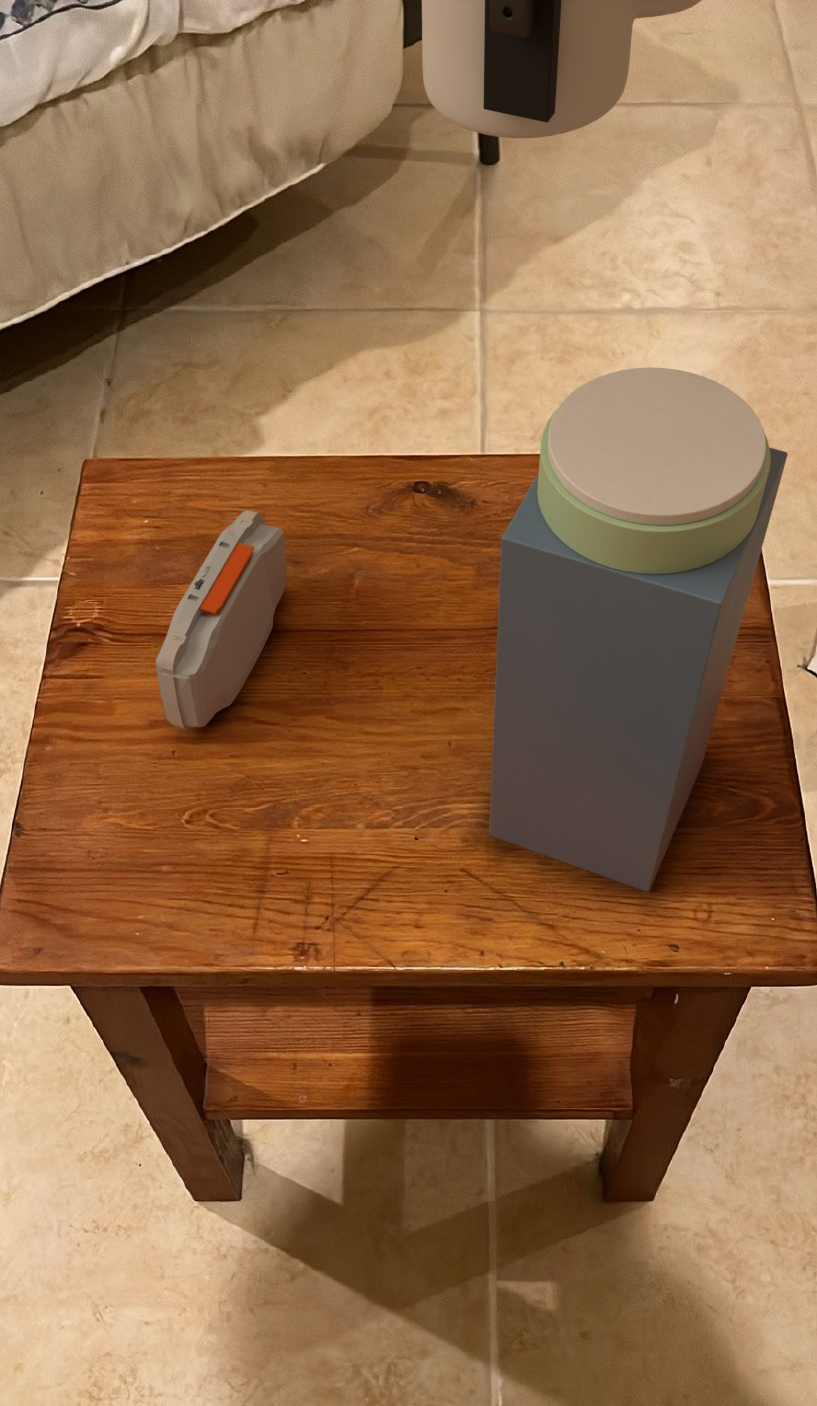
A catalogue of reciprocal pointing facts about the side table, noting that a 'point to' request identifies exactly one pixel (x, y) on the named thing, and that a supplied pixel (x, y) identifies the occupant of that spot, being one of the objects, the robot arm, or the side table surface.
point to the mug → (586, 72)
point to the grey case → (222, 622)
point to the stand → (608, 693)
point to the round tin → (652, 470)
